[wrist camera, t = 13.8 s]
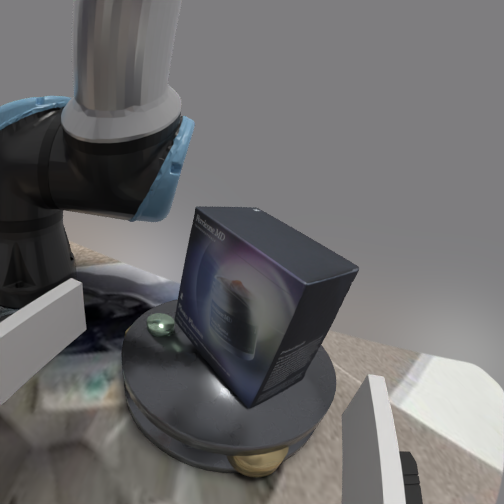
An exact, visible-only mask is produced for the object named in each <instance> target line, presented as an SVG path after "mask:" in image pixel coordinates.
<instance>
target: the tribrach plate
mask: <svg viewBox="0 0 504 504" xmlns="http://www.w3.org/2000/svg"><path fill="white" fill-rule="evenodd" d="M177 302H178V300H174V301H170V302H167V303H164V304H161V305H159V306H156V307H154V308H152V309H150V310H149V311H147V312H145V313H144V314H143V315H141V316H140V317H139V318H138V319H137V320H136V321H135V322H134V323H133V324H132V326H130V327H129V328H128V329H127V330H126V332H125V339H124V342H123V347H122V365H123V376H124V384H125V394H126V401H127V404H128V408H129V411H130V413H131V415H132V417H133V419H134V421H135V423H136V424H137V425H138V427H139V428H140V430H141V431H142V432H143V433H144V435H145V436H146V437H147V438H148V439H149V440H150V441H151V442H152V443H153V444H155V445H156V446H157V447H158V448H160V449H161V450H162V451H164V452H165V453H167V454H168V455H170V456H172V457H173V458H175V459H177V460H179V461H182V462H184V463H186V464H189V465H191V466H194V467H197V468H201V469H205V470H209V471H215V472H223V473H241V474H243V475H246V476H249V477H264V476H267V475H270V474H271V473H273V472H274V471H275V470H276V469H277V468H278V466H279V465H280V464H281V462H283V461H285V460H286V459H288V458H289V457H291V456H293V455H294V454H295V453H296V452H297V451H299V450H300V449H301V448H302V447H303V446H304V444H305V443H306V442H307V441H308V439H309V438H310V437H311V435H312V434H313V432H314V430H315V428H316V426H317V425H318V424H319V423H320V421H321V420H322V418H323V417H324V415H325V414H326V412H327V411H328V409H329V407H330V405H331V403H332V401H333V399H334V395H335V391H336V375H335V370H334V367H333V364H332V361H331V359H330V357H329V355H328V354H327V352H326V351H325V349H324V348H323V346H322V345H321V346H320V347H319V349H318V351H317V353H316V355H315V357H314V359H313V360H312V361H311V364H310V366H309V367H308V369H307V371H306V373H305V376H304V378H303V379H302V380H301V381H300V382H298V383H296V384H295V385H293V386H291V387H289V388H288V389H286V390H284V391H283V392H281V393H279V394H277V395H276V396H274V397H272V398H270V399H268V400H267V401H265V402H263V403H261V404H259V405H257V406H255V407H253V408H250V409H249V408H247V406H246V405H245V404H244V403H243V402H242V401H241V400H240V399H239V398H238V396H237V395H236V394H235V393H234V392H233V391H232V390H231V389H230V388H229V387H228V385H227V384H226V383H225V382H224V381H223V380H222V379H221V377H220V376H219V375H218V374H217V373H216V372H215V370H214V369H213V368H212V367H211V366H210V364H209V363H208V362H207V361H206V360H205V359H204V357H203V356H202V355H201V354H200V352H199V351H198V350H197V349H196V348H195V346H194V345H193V344H192V343H191V341H190V340H189V339H188V338H187V336H186V335H185V334H184V333H183V331H182V330H181V329H180V327H179V326H178V325H177V324H176V322H175V321H174V319H175V313H176V307H177Z"/></svg>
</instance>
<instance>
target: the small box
mask: <svg viewBox="0 0 504 504" xmlns="http://www.w3.org/2000/svg"><path fill="white" fill-rule="evenodd" d="M358 271H359V267H358V266H357V265H355V264H353V263H352V262H350V261H348V260H346V259H345V258H343V257H342V256H340V255H338V254H336V253H335V252H333V251H331V250H329V249H328V248H326V247H325V246H323V245H321V244H320V243H318V242H316V241H314V240H313V239H311V238H309V237H308V236H306V235H304V234H302V233H301V232H299V231H297V230H295V229H294V228H292V227H290V226H288V225H287V224H285V223H283V222H281V221H280V220H278V219H276V218H274V217H273V216H271V215H269V214H267V213H266V212H264V211H262V210H260V209H258V208H247V207H243V208H242V207H196V209H195V215H194V220H193V225H192V229H191V234H190V238H189V243H188V248H187V253H186V258H185V264H184V269H183V275H182V279H181V285H180V291H179V296H178V302H177V307H176V313H175V319H174V321H175V322H176V324H177V325H178V326H179V327H180V329H181V330H182V331H183V333H184V334H185V335H186V336H187V338H188V339H189V340H190V341H191V343H192V344H193V345H194V346H195V348H196V349H197V350H198V351H199V352H200V354H201V355H202V356H203V357H204V359H205V360H206V361H207V362H208V363H209V364H210V366H211V367H212V368H213V369H214V370H215V372H216V373H217V374H218V375H219V376H220V377H221V379H222V380H223V381H224V382H225V383H226V384H227V385H228V387H229V388H230V389H231V390H232V391H233V392H234V393H235V394H236V395H237V396H238V398H239V399H240V400H241V401H242V402H243V403H244V404H245V405H246V406H247V408H249V409H250V408H253V407H255V406H257V405H259V404H261V403H263V402H265V401H267V400H268V399H270V398H272V397H274V396H276V395H277V394H279V393H281V392H283V391H284V390H286V389H288V388H289V387H291V386H293V385H295V384H296V383H298V382H300V381H301V380H302V379H303V378H304V376H305V373H306V371H307V369H308V367H309V366H310V364H311V361H312V360H313V359H314V357H315V355H316V353H317V351H318V349H319V347H320V346H321V344H322V342H323V340H324V338H325V336H326V335H327V333H328V331H329V329H330V327H331V325H332V323H333V321H334V319H335V317H336V315H337V313H338V310H339V308H340V307H341V305H342V302H343V300H344V297H345V296H346V294H347V292H348V291H349V288H350V286H351V283H352V282H353V280H354V279H355V277H356V275H357V273H358Z"/></svg>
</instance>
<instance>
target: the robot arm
mask: <svg viewBox="0 0 504 504" xmlns="http://www.w3.org/2000/svg"><path fill="white" fill-rule="evenodd" d="M181 3H182V0H74V1H73V19H72V66H73V85H74V96H73V97H72V98H69V97H63V96H46V97H39V98H36V97H33V98H26V99H21V100H17V101H13V102H10V103H7V104H5V105H2V106H0V305H2V306H6V307H12V308H22V309H20V310H19V311H17V312H15V313H14V314H13V313H12V314H9V315H5V316H2V317H1V318H0V405H2V404H3V403H4V402H5V401H7V400H8V399H9V398H10V397H11V396H12V395H13V394H14V393H15V392H16V391H17V390H18V389H19V388H20V387H22V386H23V385H24V384H25V383H26V382H27V381H28V380H29V379H30V378H31V377H32V376H34V375H35V374H36V373H37V372H38V371H39V370H40V369H41V368H42V367H44V366H45V365H46V364H47V363H48V362H49V361H50V360H52V359H53V358H54V357H55V356H56V355H57V354H58V353H60V352H61V351H62V350H63V349H64V348H65V347H66V346H68V345H69V344H70V343H71V342H72V341H73V340H75V339H76V338H77V337H78V336H79V335H81V334H82V333H83V332H84V331H85V330H86V321H85V311H84V300H83V286H82V283H81V282H79V281H77V280H76V266H75V258H74V256H73V253H72V252H71V248H70V244H69V241H68V238H67V235H66V232H65V228H64V225H63V210H66V211H72V212H78V213H85V214H91V215H97V216H104V217H110V218H116V219H122V220H128V221H130V222H134V221H136V220H137V221H148V222H158V221H161V220H163V219H164V218H166V217H167V215H168V214H169V212H170V209H171V206H172V202H173V198H174V195H175V191H176V187H177V184H178V180H179V176H180V173H181V169H182V166H183V163H184V159H185V156H186V153H187V150H188V146H189V143H190V140H191V136H192V133H193V130H194V126H195V123H194V121H193V120H191V119H189V118H187V117H186V116H181V117H180V115H181V107H182V105H181V98H180V96H179V95H178V93H177V92H176V91H175V90H174V89H172V88H171V87H170V86H169V85H168V79H169V70H170V64H171V57H172V51H173V45H174V39H175V33H176V28H177V22H178V18H179V13H180V8H181ZM342 447H343V471H342V504H423V502H422V495H421V488H420V486H419V484H420V481H419V476H418V470H417V464H416V461H415V460H414V458H413V456H412V455H411V453H410V452H400V451H399V448H398V442H397V437H396V431H395V426H394V421H393V416H392V411H391V406H390V401H389V397H388V392H387V388H386V384H385V379H384V377H382V376H377V375H371V374H368V375H367V376H366V378H365V380H364V381H363V383H362V385H361V386H360V388H359V390H358V391H357V393H356V394H355V396H354V397H353V399H352V401H351V402H350V404H349V405H348V407H347V408H346V410H345V411H344V413H343V414H342Z"/></svg>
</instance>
